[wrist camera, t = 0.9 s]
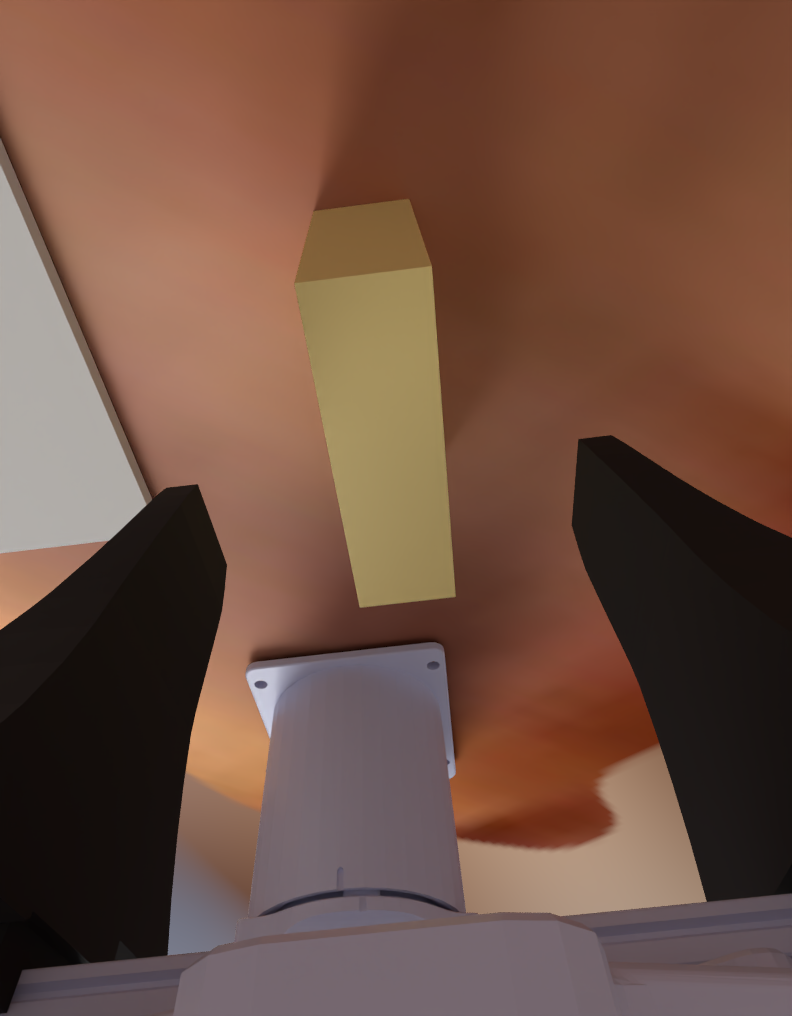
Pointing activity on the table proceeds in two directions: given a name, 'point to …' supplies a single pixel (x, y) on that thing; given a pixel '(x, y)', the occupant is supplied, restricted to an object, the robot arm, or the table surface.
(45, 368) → the mat
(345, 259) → the block
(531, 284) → the table surface
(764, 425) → the table surface
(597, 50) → the table surface
